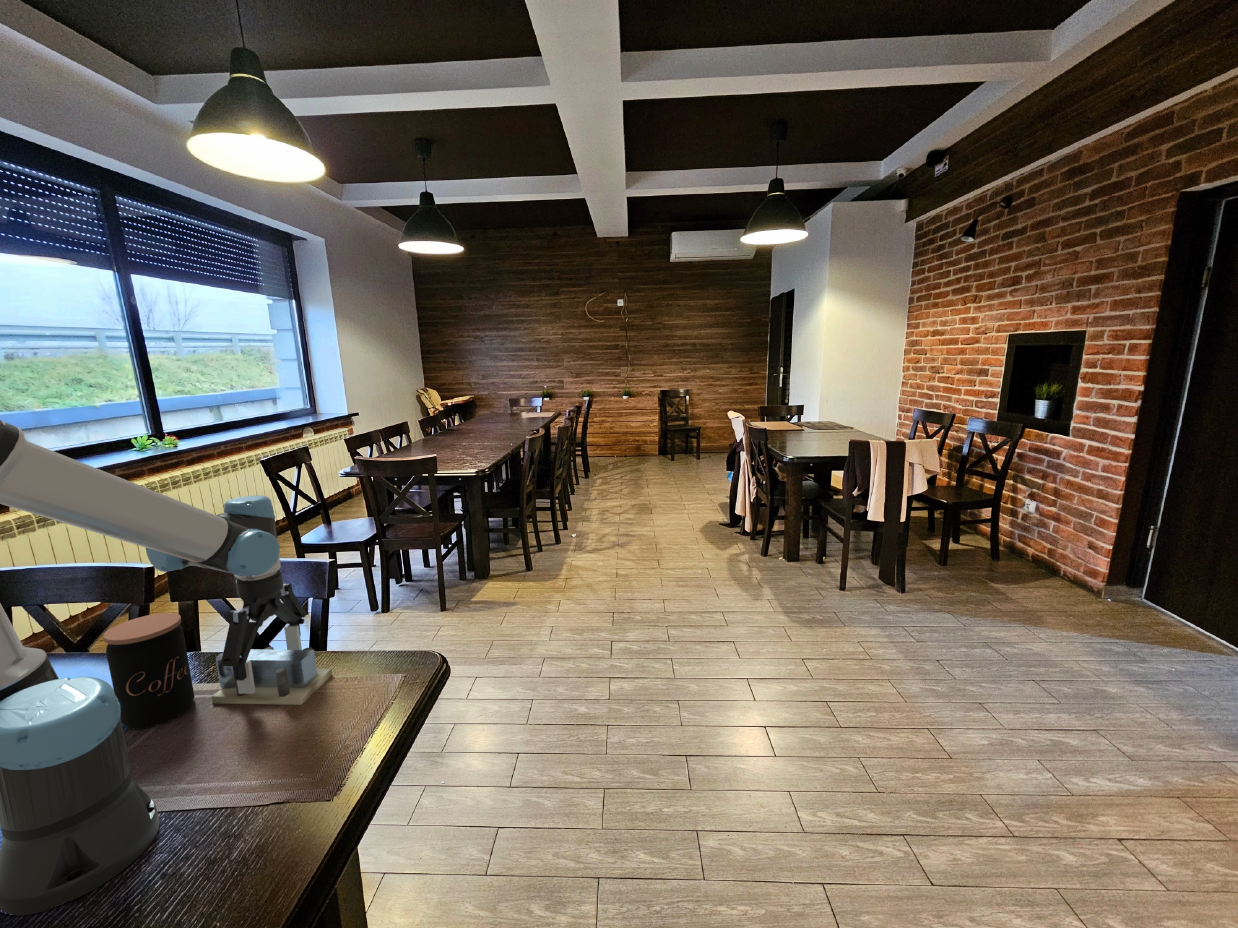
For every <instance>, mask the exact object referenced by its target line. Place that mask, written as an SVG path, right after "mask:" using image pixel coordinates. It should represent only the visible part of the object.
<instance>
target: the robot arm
mask: <svg viewBox="0 0 1238 928" xmlns="http://www.w3.org/2000/svg"><path fill="white" fill-rule="evenodd" d="M0 504H1V505H3V506H7V507H9V508H13V509H15V510H16V509H17V510H19V511H23V512H26V513H30V514H33V515H36V516H39V517H43V518H46V519H49V520H53V521H57V522H60V523H63V524H66V525H70V526H73V527H76V528H79V529H83V530H85V531H86V530H87V531H89V532H92V533H96V534H100V535H103V536H107V537H109V538H114V539H117V540H120V541H123V542H126V543H130V544H133V545H137V546H140V547H142V548H143V547H144V548H145V552H146V556H147V558H148V560H149V563H150V564H151V566H153V568H155V569H156V570H158V571H159V572H163V573H167V572H172V571H177V570H183V569H184V568H187V567H189V566H194V567H199V568H204V569H208V570H216V571H220V572H224V573H229V574H232V575H234V578H236V579H235V586H236V587H235V588H236V594H237V597H238V598H240V600H242V601H243V604H242V608H240V609H238V610H231V611H229V612H228V619H229V620H228V621H229V625H228V628H227V629H228V630H227V635H226V638H225V643H224V648H223V651H222V653H223V656H222V661H221V666H232V667H233V673H234V679H235V680H237V685H238V692H239V693H241V694H253V693H254V692H255V685H254V679H253V672H252V665H251V660H247V658H248V656H249V653H250V650H251V649H252V647H253V645H254V641H255V640H256V636H257V634H258V632H259V629H260V628H261V627H262V626H263V623H264V622H265V621H267V620H268V619H269V618H270V617H273V616H275V617H277V618H278V619H280V620H282V621H283V622H284V623H286V625H285V626H284V628H283V629H284V635H285V641H286V650H303V649H302V648H303V647H302V643H301V642H302V641H301V636H302V635H301V633H302V632H301V628H300V627H301V626H300V625H304V623H305V619H304V618H306V617H307V612H306V611H305V609H304V607H303V605H302V604H301V602H300V601H299V600H298V597H297V596H296V594H295V593H294V591H293V586H292V584H291V583H284V578H283V572H282V571H281V570H280V569H281V568H282V565H281V559H280V550H281V549H280V543H279V541H278V534H277V527H276V516H275V511H274V507H273V506H274V505H273V503H272V500H271V498H269V496H265V495H255V494H254V495H245V496H244V495H243V496H238V497H234V498H232V499H228V500H226V501H225V502H224V505H223V513H222V512H221V513H218V514H216V515H215V514H214V513H211V512H210V511H209V512H208V511H206V510H203V509H201V508H199V507H195V506H193V505H191V504H188V503H185V502H183V501H181V500H178V499H175V498H172V497H170V496H168V495H165V494H163V493H160V492H157V491H155V490H153V489H151V488H147V487H145V486H143V485H140V484H137V483H135V482H131V481H130V480H127V479H125V478H122V477H120V476H117V475H115V474H112V473H110V472H107V471H104V470H102V469H99V468H97V467H94V466H92V465H90V464H86V463H84V462H81V461H80V460H77V459H74V458H71V457H69V456H66V455H64V454H61V453H59V452H57V451H54V450H51V449H48V448H46V447H43V446H41V445H38V444H35V443H34V442H30V441H28V440H27V439H26V437H25V434H24V432H23V430H22V428H20V427H18V426H16V425H13V424H11V423H9V422H8V423H7V422H6V421H3V420H2V419H0ZM250 620H251V621H250ZM240 655H241V657H240ZM120 709H121V707H120V703H119V702H118V699H117V697H116V696H115V693H114V689H113V686H112V685H111V684H109V683H108V682H107V681H105V680H104V679H101V678H98V677H93V676H77V677H75V678H72V679H71V678H70V677H64V678H59V676H58V674H57V672H56V671H55V668H54V667H53V665H52V663H51V661H50V658H49V657H48V655H47V653H46V651H45V650H44V649H41V648H36V647H35V648H34V647H26V646H24V645H23V643H22V641H21V640H20V638H19V636H18V634H17V632H16V630H15V629H14V626H13V625H12V623H11V621H10V619H9V616H8V615H7V613H6V611H5V609H4V608H3V606H2V604H1V602H0V831H1V832H0V833H1V835H2V841H1V845H0V910H2V911H3V912H6V913H7V914H13V915H16V917H17V916H19V917H20V916H21V917H22V916H28V915H35V914H38V913H43V912H46V911H50V910H53V909H52V907H55V906H57V905H61V904H63V903H65V902H68V901H70V902H72V899H75V900H77V899H79V898H81V897H82V896H85V895H86V894H88V893H90V892H92V891H94V890H95V889H97V888H99V887H100V886H103V885H104V884H107V883H108V882H109V881H111V879H113V878H114V877H117V876H118V875H119V874H120V873H121V872H123V871H125V869H127V868H128V867H129V866H130V865H131V864H133V862H135V861H136V860H137V859H138V858H140V856H141V855H142V854H143V853H144V852H145V851H146V850H147V849H148V847H149V846H150V845H151V843H152V842H153V841H154V839H155V837H156V836H157V833H158V831H159V829H160V816H159V811H158V807H157V805H156V803H155V801H153V800H152V798H151V797H150V796H149V795H148V794H147V793H146V792H145V791H144V790H143V788H141V786H140V785H139V784H138V783H137V782H136V780H134V778H133V774H132V768H131V762H130V758H129V754H128V753H129V752H128V747H127V743H126V742H127V741H126V737H125V731H124V727H123V726H124V725H123V724H122V720H121V715H120V713H121V710H120ZM78 897H79V898H78ZM76 898H77V899H76ZM68 903H69V902H68ZM63 905H64V904H63ZM61 906H62V905H61ZM55 908H56V907H55Z"/></svg>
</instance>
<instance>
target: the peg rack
mask: <svg viewBox="0 0 1238 928" xmlns="http://www.w3.org/2000/svg"><path fill="white" fill-rule="evenodd" d="M264 649H269V650H275V648H274V647H273V646H269V647H266V648H264ZM302 650H313V647H305V648H303V649H302ZM316 669H317V677H316V678H315V679H314V680H313V681H312V682H311V683H310V684H309V685H308V686H307V687H306V688H289V683H288V676H287V669H286V668H282V669H279V670H277V671H276V678H277V686H278V688H265V687H255V692H254V693H253V694H241V693H239V692H238V685H237V680H235V684H236V687H235V688H230V689H223V688H221V689H220V690H218V691H217V692H216V693H214V694H213V695H211V702H212V704H229V705H230V704H232V705H237V704H238V705H239V704H240V705H292V706H296V705H299V706H301V705H303V704H304V703H305V702H306V701H307V699H309V698H310V697H311V696H312V695H313V694H314V693H316V691H317V690H318V689H319V688H320V687H321V686H322V685H324V683H326V681H327V680H329V679H330V678H331V677H332V676H333V673H332V672H333V670H332V668H325V667H324V668H323V667H322V668H318V667H316ZM331 675H332V676H331ZM330 676H331V677H330ZM329 677H330V678H329Z"/></svg>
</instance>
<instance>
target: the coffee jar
mask: <svg viewBox="0 0 1238 928" xmlns="http://www.w3.org/2000/svg"><path fill="white" fill-rule="evenodd" d="M181 623H182V617H181V615H180V614H178V613H177V612H176V613H174V612H159V613H153V614H147V615H144V616H141V617H140V616H139V617H137V618H132V619H130V620H126V621H124V622H121V623H119V624H117V625H115V626H113V627H111V628H110V629H108V630H107V631H106V632H105V633H104V634H103V637H102V639H103V642H104V643H106V644H107V645H106V647H105V648H106V650H105V654H106V658H107V663H108V670H109V673H110V678H111V684H112V688H113V690H114V693H115V696H116V697H117V699H118V702H119V703H120V707H121V709H120V710H121V713H120V715H121V720H122V725H123V726H125V727H126V728H129V730H131V729H132V730H143V729H149V728H153V727H157V726H159V725H161V724H162V725H163V724H166V723H167V722H170V721H171V720H174V719H177V718H178V717H179V716H180V715H182V714H184V713H185V712H186V711H187V710H188V709H189V708H190V707H191V704H192V703H193V701H194V699H195V692H194V686H193V681H192V673H191V668H190V662H189V657H188V651H187V644H186V639H185V634H184V628H183V627H182V625H180V624H181Z"/></svg>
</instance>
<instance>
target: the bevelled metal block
mask: <svg viewBox="0 0 1238 928" xmlns="http://www.w3.org/2000/svg"><path fill="white" fill-rule="evenodd" d="M222 656H223V652H221V653H219V654H218V655H216V657H215V662H216V663H215V664H216V668H217V669H216V670H217V674H218V681H219V687H220V688H221V689H222V688H223V689H230V688H235V687H236V684H235V679H234V673H233V667H232V666H221V661H222ZM240 657H241V655H240ZM247 660H251V665H252V672H253V679H254V685H255V687H265V688H278V686H277V678H276V671H277V670H279V669H282V668H286V669H287V676H288V683H289V688H306V687H307V686H308V685H309V684H310V683H311V682H312V681H313V680H314V679H315V678H316V677H317V669H316V668H317V662H316V655H315V649H312V650H303V649H302V650H287V649H274V650H269V649H265V648H264V649H262V648H261V649H259V648H258V649H257V648H256V649H253V648H251V650H250V653H249V656H248V658H247Z"/></svg>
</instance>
